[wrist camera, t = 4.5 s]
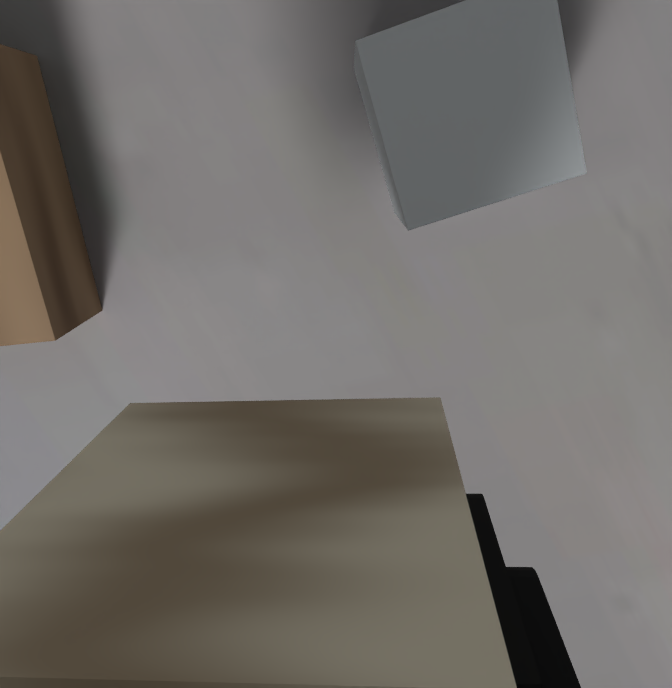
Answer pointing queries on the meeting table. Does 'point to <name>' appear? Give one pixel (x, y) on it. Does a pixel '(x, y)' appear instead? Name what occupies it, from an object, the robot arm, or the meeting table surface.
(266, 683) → the birch block
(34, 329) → the walnut block
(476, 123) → the grey block
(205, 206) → the meeting table surface
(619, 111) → the meeting table surface
